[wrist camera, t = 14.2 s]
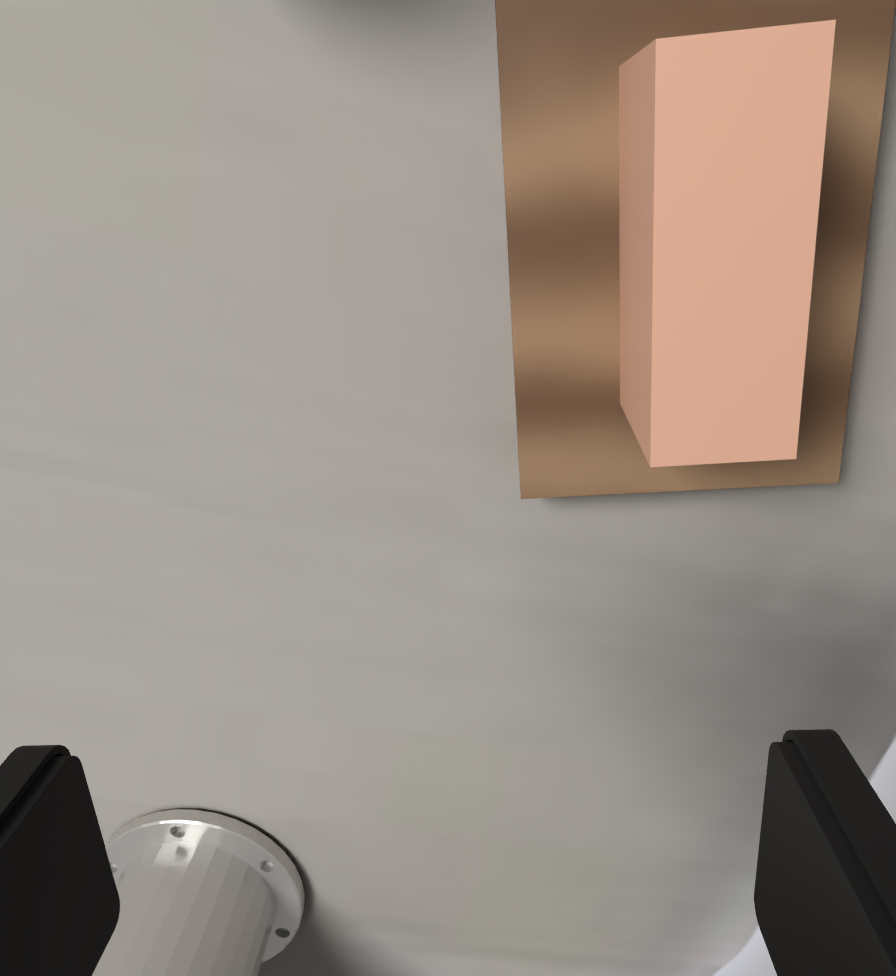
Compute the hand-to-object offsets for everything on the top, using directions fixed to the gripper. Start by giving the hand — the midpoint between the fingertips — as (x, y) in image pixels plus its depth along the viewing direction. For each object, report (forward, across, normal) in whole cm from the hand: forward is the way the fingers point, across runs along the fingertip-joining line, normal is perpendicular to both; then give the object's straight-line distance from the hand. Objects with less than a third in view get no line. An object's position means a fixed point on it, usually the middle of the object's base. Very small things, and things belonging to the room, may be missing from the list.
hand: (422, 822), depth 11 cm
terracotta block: (+22, -8, -6) cm, 24 cm away
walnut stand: (+25, -8, -6) cm, 27 cm away
